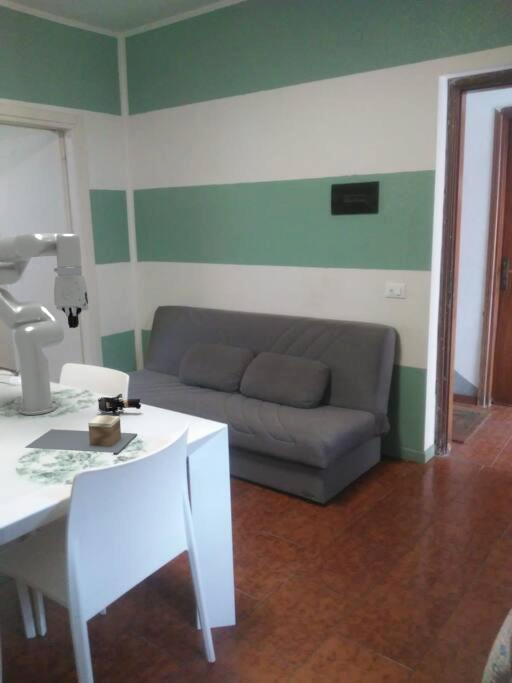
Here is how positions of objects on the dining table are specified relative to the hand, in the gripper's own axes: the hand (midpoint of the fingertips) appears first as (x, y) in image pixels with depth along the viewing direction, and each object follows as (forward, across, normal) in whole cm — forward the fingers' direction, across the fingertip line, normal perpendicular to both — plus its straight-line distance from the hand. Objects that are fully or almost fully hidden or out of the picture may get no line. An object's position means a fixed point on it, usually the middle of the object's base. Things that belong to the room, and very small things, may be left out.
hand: (73, 327), depth 191 cm
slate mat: (+32, +10, -20) cm, 39 cm away
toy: (+32, +11, +8) cm, 35 cm away
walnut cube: (+24, +18, -20) cm, 36 cm away
